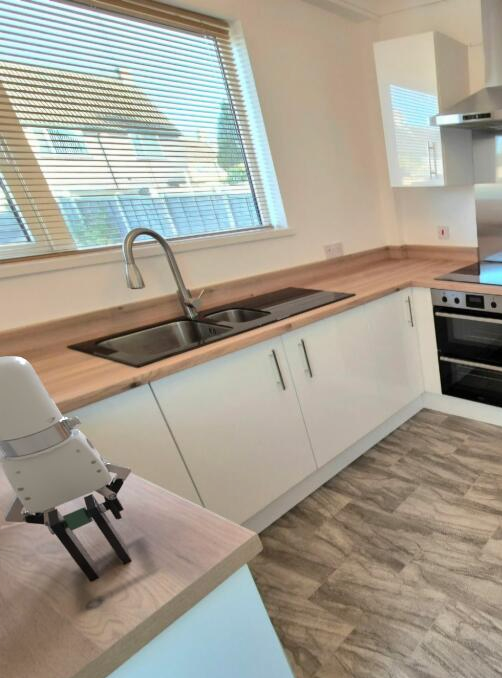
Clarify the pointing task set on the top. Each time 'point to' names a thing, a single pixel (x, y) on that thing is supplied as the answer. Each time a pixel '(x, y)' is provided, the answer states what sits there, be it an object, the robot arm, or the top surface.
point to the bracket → (75, 546)
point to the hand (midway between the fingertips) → (94, 525)
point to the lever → (80, 517)
